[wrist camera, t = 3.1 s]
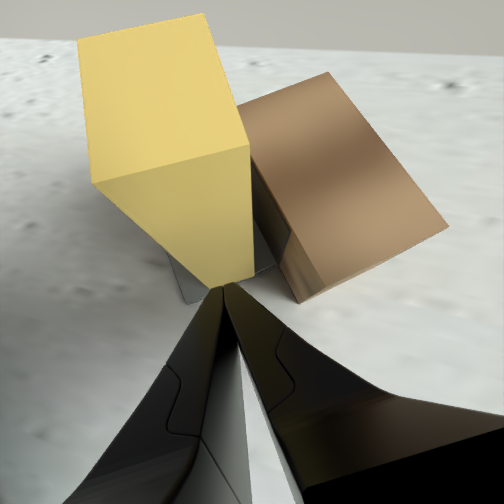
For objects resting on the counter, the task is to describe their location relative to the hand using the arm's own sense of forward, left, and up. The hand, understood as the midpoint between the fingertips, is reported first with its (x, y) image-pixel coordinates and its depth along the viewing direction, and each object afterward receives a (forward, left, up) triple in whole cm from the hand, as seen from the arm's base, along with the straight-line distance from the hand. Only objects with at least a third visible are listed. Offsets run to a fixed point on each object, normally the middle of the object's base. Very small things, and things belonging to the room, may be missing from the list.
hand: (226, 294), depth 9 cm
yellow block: (+4, -1, -7) cm, 8 cm away
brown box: (+4, -7, -8) cm, 11 cm away
